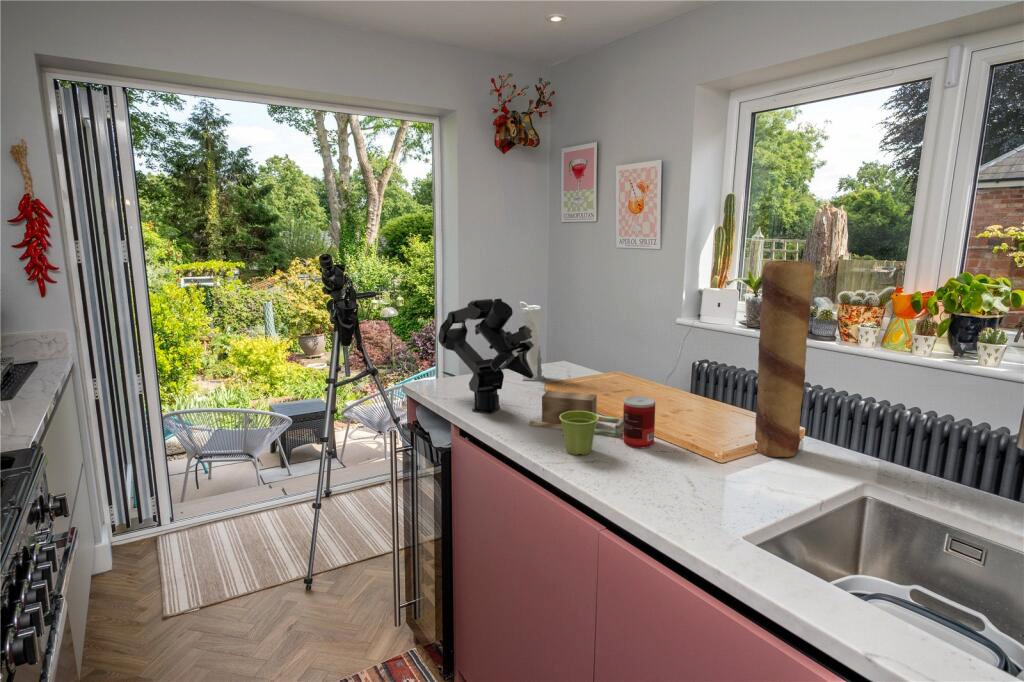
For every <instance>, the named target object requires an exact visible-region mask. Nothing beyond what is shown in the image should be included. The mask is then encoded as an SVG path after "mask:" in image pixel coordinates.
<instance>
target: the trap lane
mask: <svg viewBox="0 0 1024 682" xmlns="http://www.w3.org/2000/svg"><path fill="white" fill-rule="evenodd" d="M598 417H599V420H598V421H600V422H601V421H602V422H611V423H616V424H615V425H614V431H613V430H607V429H599V428H595V430H594V435H602V436H608V437H615V438H619V437H620V436H621V435H622V434H623V416H621V417H620V418H621V419H620V420H619V419H617V418H618V417H613V416H606V415H605V416H603V415H598ZM529 426H534V427H541V428H542V427H543V428H549V429H557V430H563V425H562V424H554V423H547V422H542V421H537V420H530V421H529ZM562 437H564V433H563V434H562Z"/></svg>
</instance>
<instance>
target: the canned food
mask: <svg viewBox="0 0 1024 682" xmlns="http://www.w3.org/2000/svg"><path fill="white" fill-rule="evenodd" d="M622 417H623V432H622V441H623V443H624V445H627V446H628V447H631V448H637V449H646V448H650V447H652V446H653V444H654V443H655V422H656V421H655V420H656V401H655V399H654V398H653V397H652V398H651V397H648V396H641V395H638V396H637V395H636V396H635V395H633V396H628V397H625V398H624V400H623V413H622Z"/></svg>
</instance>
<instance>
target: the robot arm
mask: <svg viewBox="0 0 1024 682" xmlns="http://www.w3.org/2000/svg"><path fill="white" fill-rule="evenodd" d="M512 316H513V308H512V306H510V305H509V304H508V303H506V302H504V301H503V300H502V298H494V300H493V298H486V299H485V298H484V299H473V300H471V301H470V302H468V303H467V306H465V307H463V308H459V309H457V310H451V311H449V312H448V314H447V317H446V319H445V320H444V321H443V323H442V324H441V325H440V327H439V331H438V337H437V338H438V343H439V344H440V345H441V346H442V347H443V348H444V349H446V350H448V351H452V352H454V353H455V354H456V355H457V356H458V357H459V358H460V359H461V361H462V362H463V363H464V364H465V365H466V366H467V367H468V368H469V370H470V371H472V373H473V374H472V377H471V378H470V379H469V382H468V386H469V390H470V391H472V392H473V393H474V396H473V397H474V407H473V408H472V409H471V411H472V412H477V413H478V412H479V413H485V414H491V413H494V412H496V411H498V409H501V406H500V395H499V393H498V390H502V388H503V382H504V378H505V376H504V374H505V373H504V371H503V370H502V368H501V367H502V365H503V364H505V363H506V366H505V367H504V369H505V370H509V371H512V372H515V373H517V374H519V375H521V376H522V377H523V376H526V377H528V378H530V379H531V378H532V377H533V376H534V375H533V373H532V371H531V368H530V366H529V364H528V362H527V359H526V357H527V353H528V351H529V350H530V349H531V348H532V347H533V346H534V345H533V343H532V342H531V341H527V340H528V339H530V338H532V336H531V332H532V330H531V329H529V327H527V326H526V325H524V326H522V325H521V326H520V327H518V331H516V332H514V333H512V332H511V331H506V330H505V329H504V327H505V326H506V324H507V323H508V321H509V320H510V318H511V317H512ZM471 320H474V321H477V320H481V321H480V322H479V323H477V324H475V325H474V328H475V329H474V333H475V335H476V336H477V335H479V334H481V336H483V338H484V339H485V340H486V341H487V343H488V344H489V347H488V348H489V349H490V350H493V349H494V351H495V352H496V353H497V355H496V356H495V357H494V358H488V359H484V358H483V357H482V356H481V355H480V354H479V353H478V352H477V351H476V350H475V349H474V348H473V346H472V345H470V343H469V342H468V341H467V335H468V332H469V330H468V328H467V325H466V322H467V321H471ZM455 324H461V326H460V327H455V328H454V327H453V328H452V326H453V325H455ZM525 340H526V341H525ZM523 341H524V342H523Z"/></svg>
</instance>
